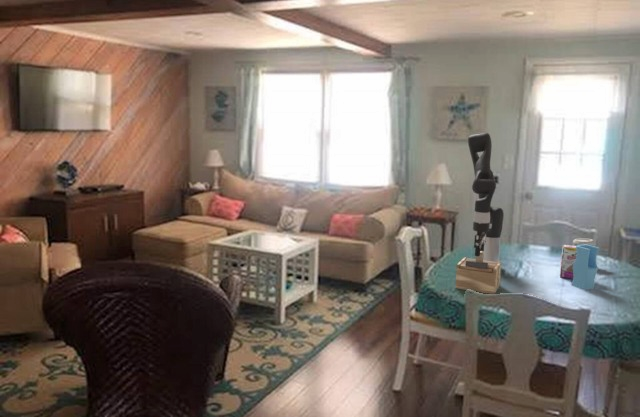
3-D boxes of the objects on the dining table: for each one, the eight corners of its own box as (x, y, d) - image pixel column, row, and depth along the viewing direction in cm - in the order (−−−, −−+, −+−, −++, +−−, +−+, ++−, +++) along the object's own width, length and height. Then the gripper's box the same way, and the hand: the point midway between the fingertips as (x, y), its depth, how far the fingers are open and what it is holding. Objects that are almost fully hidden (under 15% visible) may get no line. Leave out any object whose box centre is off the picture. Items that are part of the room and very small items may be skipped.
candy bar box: (560, 277, 281) (563, 246, 278) (559, 275, 285) (562, 244, 282) (584, 280, 277) (587, 248, 274) (583, 277, 282) (586, 246, 279)
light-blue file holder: (585, 290, 262) (589, 249, 258) (570, 285, 269) (574, 245, 265) (595, 287, 265) (599, 247, 262) (581, 283, 272) (585, 244, 269)
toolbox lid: (467, 260, 273) (467, 253, 273) (498, 264, 267) (498, 257, 266) (459, 267, 260) (460, 260, 260) (491, 272, 253) (492, 264, 253)
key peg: (476, 271, 266) (477, 250, 264) (482, 272, 265) (483, 251, 263) (474, 273, 263) (476, 252, 262) (481, 274, 262) (482, 252, 260)
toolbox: (463, 279, 276) (464, 257, 274) (499, 285, 268) (501, 262, 266) (455, 288, 263) (456, 264, 261) (494, 294, 255) (495, 269, 252)
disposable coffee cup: (570, 266, 300) (573, 240, 298) (570, 262, 310) (572, 236, 307) (592, 269, 296) (595, 242, 294) (590, 264, 306) (593, 238, 303)
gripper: (477, 217, 267) (474, 249, 270) (470, 222, 255) (467, 256, 258) (492, 219, 264) (490, 252, 267) (486, 224, 252) (484, 258, 254)
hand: (479, 254), depth 262 cm, fingers open, 8 cm apart
